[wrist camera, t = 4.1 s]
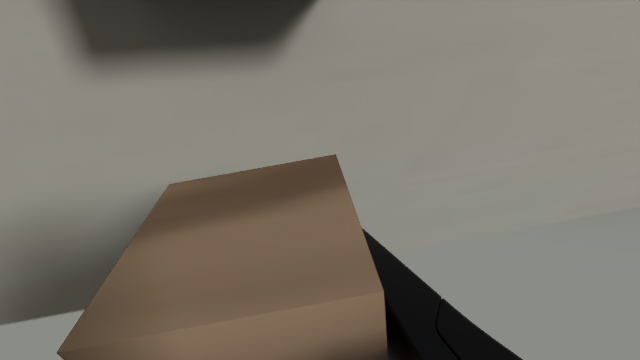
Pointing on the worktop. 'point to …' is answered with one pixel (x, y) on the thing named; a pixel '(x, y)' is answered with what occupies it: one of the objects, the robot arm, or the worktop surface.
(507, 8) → the worktop surface
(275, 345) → the walnut cube
